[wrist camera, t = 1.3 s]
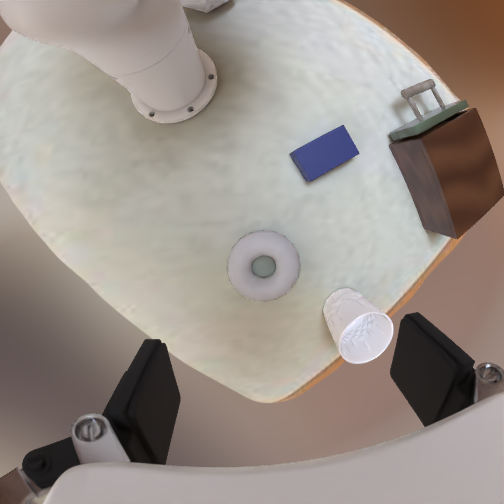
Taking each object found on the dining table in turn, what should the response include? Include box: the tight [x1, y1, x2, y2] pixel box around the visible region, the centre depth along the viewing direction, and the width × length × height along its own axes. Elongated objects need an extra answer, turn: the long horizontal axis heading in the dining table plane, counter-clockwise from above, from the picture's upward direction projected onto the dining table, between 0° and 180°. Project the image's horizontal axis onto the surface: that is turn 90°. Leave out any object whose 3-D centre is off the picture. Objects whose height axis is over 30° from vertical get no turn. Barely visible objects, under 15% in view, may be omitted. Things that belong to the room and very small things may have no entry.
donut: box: [227, 230, 300, 302], centre depth 37 cm, size 10×3×10 cm
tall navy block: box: [290, 125, 359, 181], centre depth 34 cm, size 8×4×3 cm, turn 122°
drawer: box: [389, 79, 469, 140], centre depth 31 cm, size 18×14×7 cm
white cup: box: [323, 288, 393, 364], centre depth 36 cm, size 8×8×10 cm
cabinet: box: [389, 108, 504, 239], centre depth 32 cm, size 15×15×9 cm
